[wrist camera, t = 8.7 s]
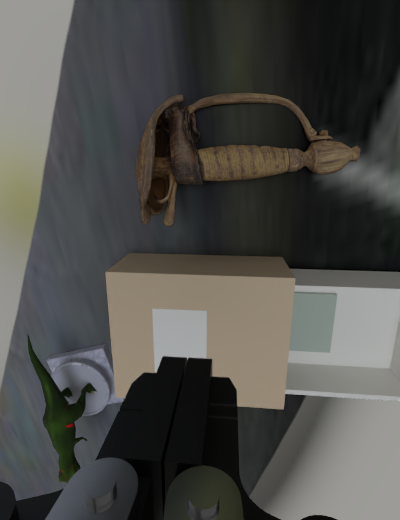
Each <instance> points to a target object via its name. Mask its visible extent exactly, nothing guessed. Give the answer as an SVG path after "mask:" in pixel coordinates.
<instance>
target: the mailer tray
mask: <svg viewBox="0 0 400 520" xmlns="http://www.w3.org/2000/svg"><path fill="white" fill-rule="evenodd" d="M290 270H291V272H292V273H293V275H294V276H295V278H296V279H295V290H294V301H293V312H292V323H291V334H290V345H289V356H288V368H287V379H286V390H285V394H297V395H313V396H327V397H344V398H358V399H373V400H389V401H400V272H382V271H349V270H316V269H290Z"/></svg>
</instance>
